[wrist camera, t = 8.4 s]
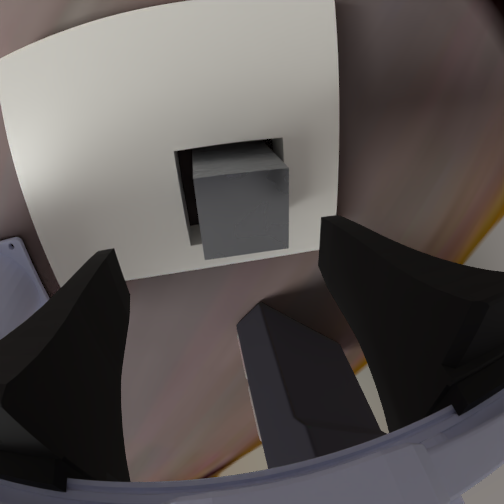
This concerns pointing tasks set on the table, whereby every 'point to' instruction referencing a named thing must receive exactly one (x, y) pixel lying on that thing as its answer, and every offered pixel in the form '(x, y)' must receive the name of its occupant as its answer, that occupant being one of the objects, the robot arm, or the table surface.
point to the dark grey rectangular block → (301, 390)
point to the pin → (241, 199)
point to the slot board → (169, 124)
